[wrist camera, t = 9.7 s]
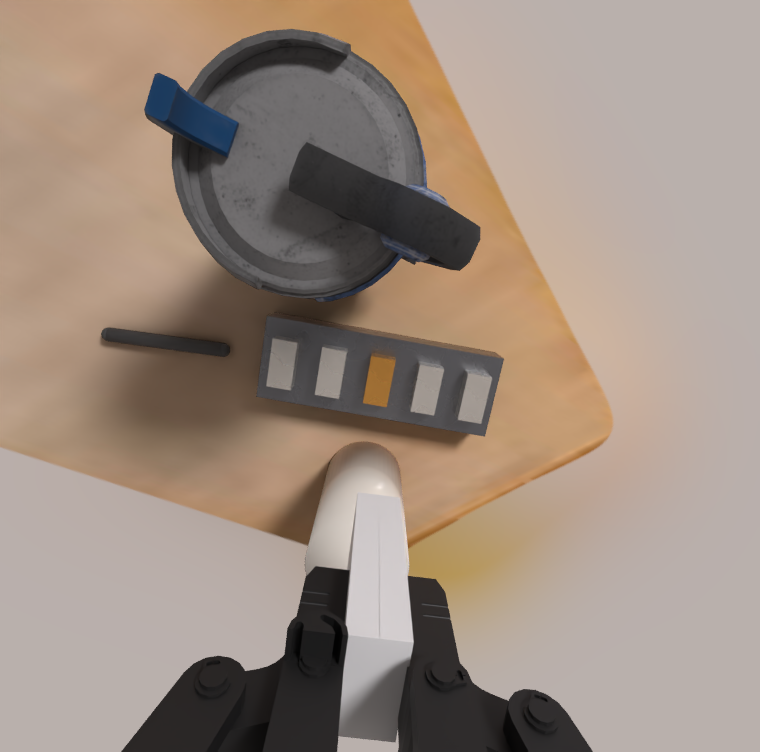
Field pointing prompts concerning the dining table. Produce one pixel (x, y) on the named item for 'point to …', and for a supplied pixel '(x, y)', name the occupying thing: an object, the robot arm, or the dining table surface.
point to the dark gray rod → (165, 342)
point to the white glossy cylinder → (350, 501)
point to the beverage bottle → (304, 168)
